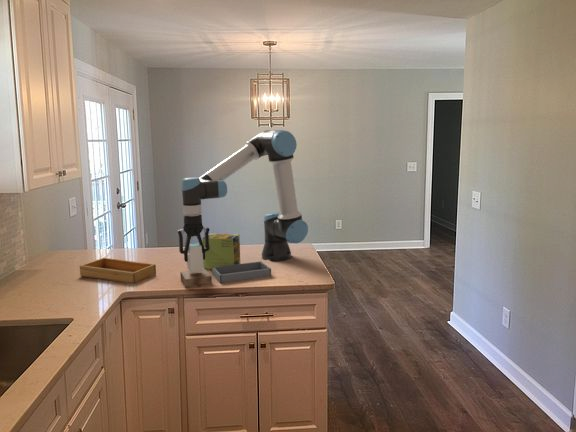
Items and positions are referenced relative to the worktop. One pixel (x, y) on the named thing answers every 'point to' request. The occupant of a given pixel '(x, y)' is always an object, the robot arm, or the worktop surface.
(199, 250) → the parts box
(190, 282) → the stand
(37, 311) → the worktop surface
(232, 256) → the protein box
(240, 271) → the bin
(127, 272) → the tray
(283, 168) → the robot arm
